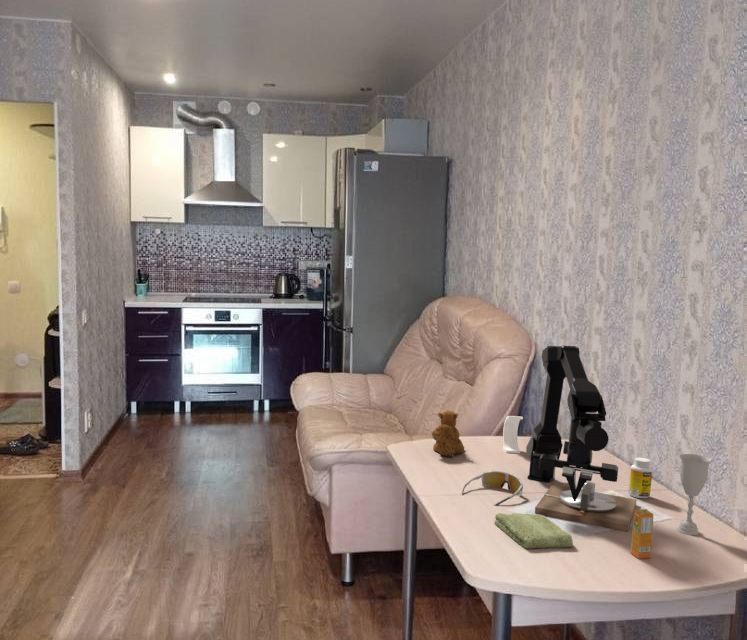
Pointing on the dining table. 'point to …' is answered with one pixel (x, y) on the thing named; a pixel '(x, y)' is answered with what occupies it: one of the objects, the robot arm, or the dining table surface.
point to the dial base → (610, 519)
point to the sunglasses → (500, 482)
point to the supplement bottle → (640, 478)
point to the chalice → (692, 486)
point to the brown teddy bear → (447, 435)
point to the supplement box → (642, 534)
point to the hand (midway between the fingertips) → (574, 500)
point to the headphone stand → (511, 434)
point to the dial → (588, 500)
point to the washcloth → (533, 530)
